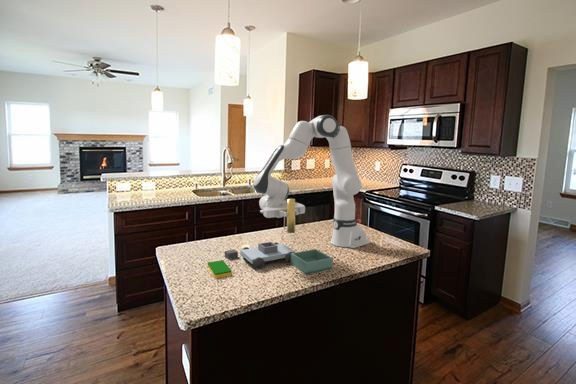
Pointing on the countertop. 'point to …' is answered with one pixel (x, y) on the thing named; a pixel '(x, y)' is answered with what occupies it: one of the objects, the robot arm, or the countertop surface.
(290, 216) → the pin
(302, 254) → the tray
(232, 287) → the countertop surface
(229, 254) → the wheel chock
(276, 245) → the trolley
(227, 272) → the dish sponge
